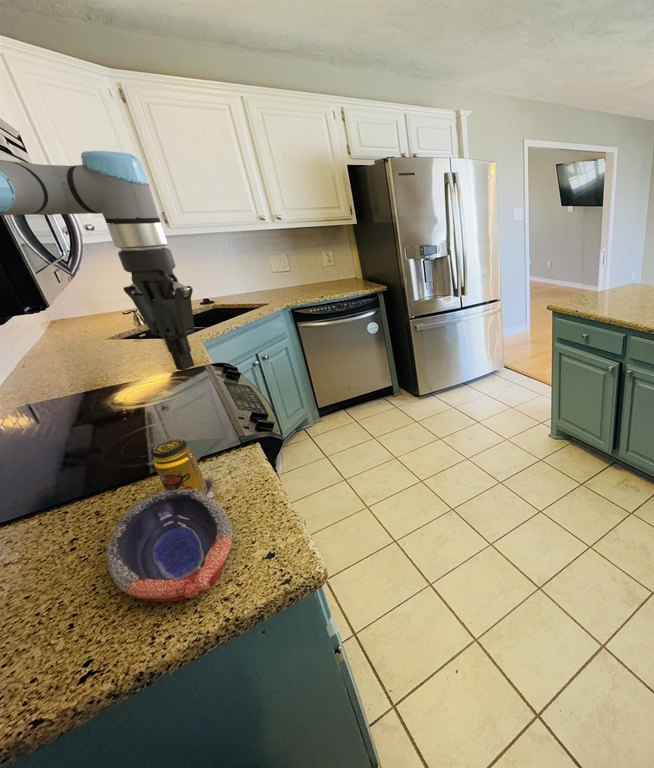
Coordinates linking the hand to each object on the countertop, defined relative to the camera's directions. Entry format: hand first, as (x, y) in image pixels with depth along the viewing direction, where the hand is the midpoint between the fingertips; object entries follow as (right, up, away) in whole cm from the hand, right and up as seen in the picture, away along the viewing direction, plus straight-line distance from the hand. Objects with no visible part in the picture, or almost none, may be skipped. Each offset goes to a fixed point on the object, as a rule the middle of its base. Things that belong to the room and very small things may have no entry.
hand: (185, 367), depth 84 cm
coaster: (-10, -20, +12) cm, 25 cm away
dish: (+12, -32, -17) cm, 38 cm away
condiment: (+3, -26, -2) cm, 26 cm away
